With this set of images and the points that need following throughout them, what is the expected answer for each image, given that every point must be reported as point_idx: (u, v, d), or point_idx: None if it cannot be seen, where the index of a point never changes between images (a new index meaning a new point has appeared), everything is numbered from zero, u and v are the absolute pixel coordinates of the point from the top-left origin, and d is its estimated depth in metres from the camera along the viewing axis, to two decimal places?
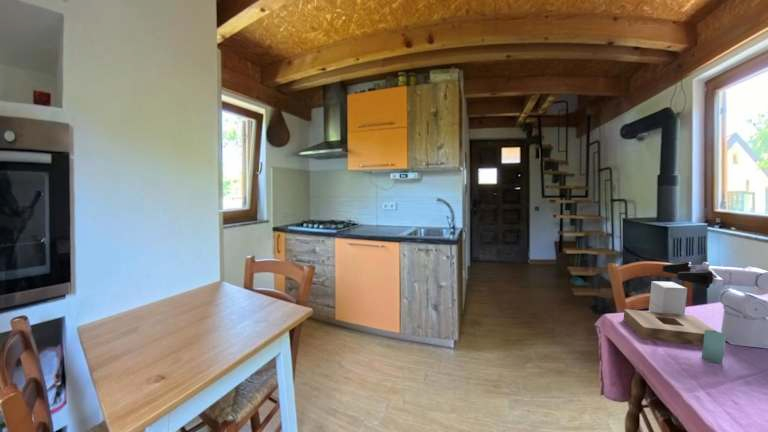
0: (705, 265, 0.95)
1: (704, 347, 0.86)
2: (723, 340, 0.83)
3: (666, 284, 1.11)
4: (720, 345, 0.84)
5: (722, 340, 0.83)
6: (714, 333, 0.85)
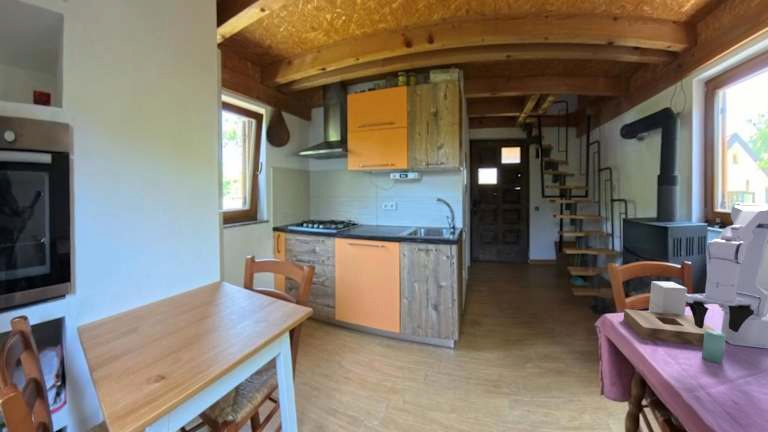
0: None
1: (704, 347, 0.86)
2: (723, 340, 0.83)
3: (666, 284, 1.11)
4: (720, 345, 0.84)
5: (722, 340, 0.83)
6: (714, 333, 0.85)
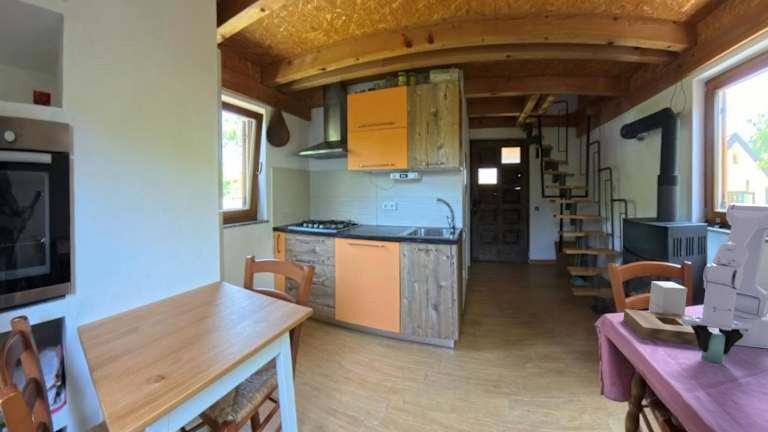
0: None
1: None
2: (723, 340, 0.83)
3: (666, 284, 1.11)
4: (720, 345, 0.84)
5: (722, 340, 0.83)
6: (714, 333, 0.85)
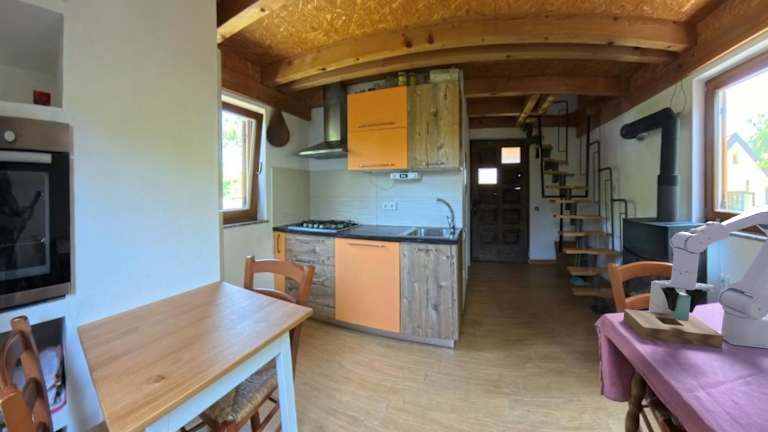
0: None
1: None
2: (689, 300, 0.94)
3: None
4: (686, 304, 0.94)
5: (688, 300, 0.94)
6: (681, 294, 0.95)
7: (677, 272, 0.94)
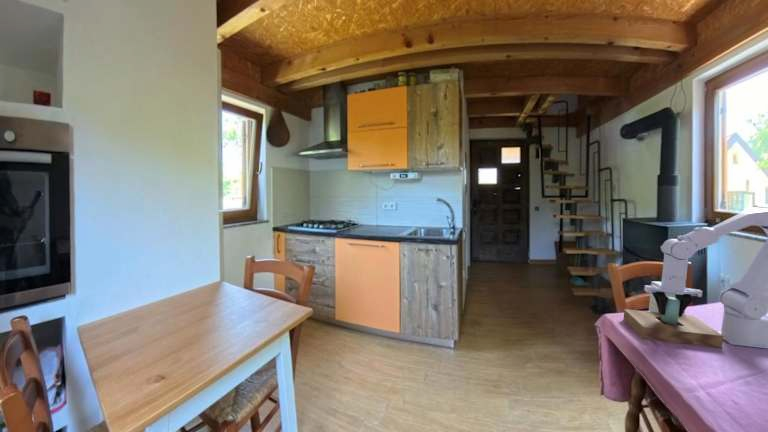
0: None
1: None
2: (678, 304, 0.98)
3: None
4: (675, 308, 0.98)
5: (677, 304, 0.98)
6: (671, 299, 0.99)
7: (667, 277, 0.98)
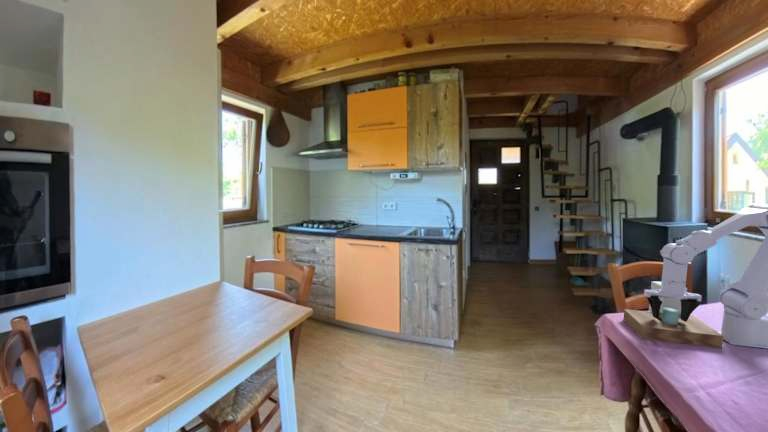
0: None
1: (662, 322, 1.01)
2: (677, 315, 0.98)
3: None
4: (674, 320, 0.99)
5: (676, 315, 0.98)
6: (670, 310, 1.00)
7: (666, 282, 0.99)
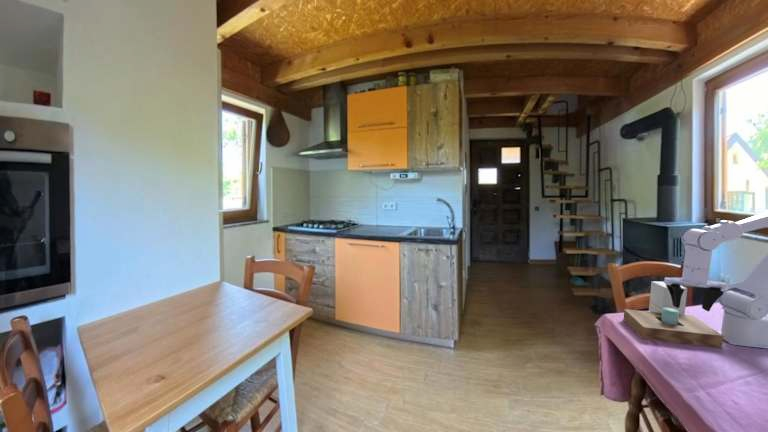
0: None
1: (662, 322, 1.01)
2: (677, 315, 0.98)
3: None
4: (674, 320, 0.99)
5: (676, 315, 0.98)
6: (670, 310, 1.00)
7: (689, 269, 0.94)
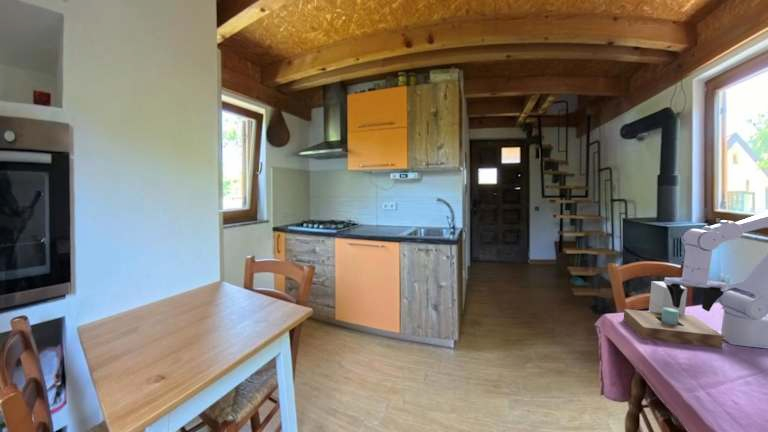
0: None
1: (662, 322, 1.01)
2: (677, 315, 0.98)
3: None
4: (674, 320, 0.99)
5: (676, 315, 0.98)
6: (670, 310, 1.00)
7: (689, 269, 0.94)
